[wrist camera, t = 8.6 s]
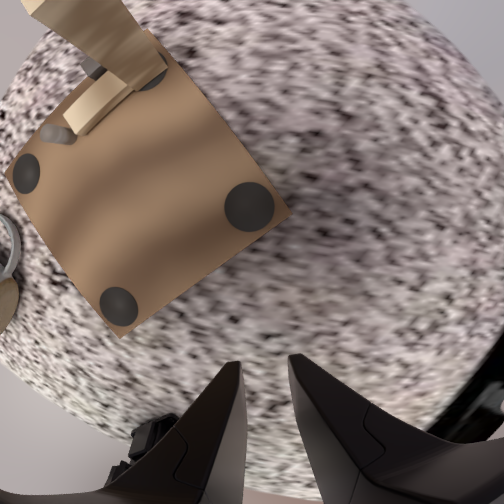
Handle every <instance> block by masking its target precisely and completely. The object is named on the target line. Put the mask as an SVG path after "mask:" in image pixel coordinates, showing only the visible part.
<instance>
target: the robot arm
mask: <svg viewBox="0 0 504 504" xmlns="http://www.w3.org/2000/svg"><path fill="white" fill-rule="evenodd" d="M288 374H289V383H290V389H291V395H292V400H293V406H294V412H295V417H296V422H297V425H298V429H299V432H300V435H301V438H302V441H303V444H304V447H305V450H306V453H307V456H308V458H309V461H310V464H311V467H312V470H313V473H314V476H315V479H316V482H317V485H318V488H319V491H320V494H321V497H322V500H323V502H324V504H504V437H503V438H499V439H494V440H489V441H483V442H478V443H471V444H456V443H451V442H448V441H445V440H443V439H440V438H438V437H436V436H433V435H431V434H429V433H427V432H425V431H422V430H420V429H418V428H416V427H414V426H412V425H409V424H407V423H405V422H404V421H402V420H400V419H398V418H396V417H394V416H392V415H391V414H389V413H387V412H386V411H384V410H382V409H381V408H379V407H378V406H376V405H375V404H373V403H371V402H370V401H369V400H367V399H366V398H364V397H363V396H361V395H360V394H358V393H357V392H355V391H354V390H352V389H351V388H349V387H348V386H347V385H345V384H344V383H342V382H341V381H339V380H338V379H336V378H335V377H334V376H332V375H331V374H329V373H328V372H327V371H325V370H324V369H322V368H321V367H320V366H318V365H317V364H315V363H314V362H313V361H311V360H310V359H308V358H307V357H306V356H304V355H303V354H301V353H299V354H293V355H289V356H288ZM247 431H248V425H247V411H246V397H245V385H244V378H243V372H242V366H241V362H240V361H232V362H227V363H226V364H225V365H224V366H223V367H222V369H221V370H220V371H219V372H218V374H217V375H216V376H215V377H214V378H213V380H212V381H211V382H210V383H209V384H208V386H207V387H206V388H205V389H204V391H203V392H202V393H201V394H200V395H199V397H198V398H197V399H196V400H195V401H194V402H193V404H192V405H191V406H190V407H189V408H188V410H187V411H186V412H185V413H184V414H183V415H182V417H181V418H180V419H179V418H178V417H177V416H175V415H174V414H168V415H166V416H164V417H162V418H160V419H157V420H155V421H151V422H149V423H147V424H144V425H142V426H140V427H138V428H137V429H135V430H133V431H132V432H131V436H132V437H133V441H132V444H131V447H130V450H129V453H128V457H129V458H130V459H131V461H130V464H128V463H127V462H125V461H121V462H120V465H118V466H112V469H111V471H110V474H109V477H108V479H107V481H106V483H105V485H104V487H103V488H101V489H99V490H96V491H92V492H85V493H74V494H59V495H20V494H13V493H9V492H6V491H3V490H1V489H0V504H242V500H243V487H244V474H245V461H246V447H247Z"/></svg>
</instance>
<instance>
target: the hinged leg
mask: <svg viewBox="0 0 504 504" xmlns="http://www.w3.org/2000/svg"><path fill="white" fill-rule="evenodd" d="M21 2H22V3H23V5H24V7H25V8H26V10H27V11H28V13H29V15H30V16H32V17H33V18H35V19H36V20H38V21H39V22H41V23H42V24H44V25H45V26H47V27H48V28H50V29H51V30H53V31H54V32H56V33H57V34H58V35H60V36H61V37H63V38H64V39H66V40H67V41H69V42H70V43H71V44H73V45H74V46H76V47H77V48H78V49H80V50H81V51H83V52H84V53H85V54H87V55H88V56H90V57H91V58H92V59H94V60H95V61H96V62H98V63H99V64H100V65H102V66H103V67H105V68H106V69H107V70H108V71H107V72H106V73H105V74H103V75H102V76H101V77H100V78H99V79H98V80H97V81H96V82H95V83H94V84H93V85H92V86H90V87H89V88H88V89H87V90H86V91H85V92H84V93H83V94H82V95H81V96H80V97H79V98H78V99H77V100H76V101H75V102H74V103H73V104H72V105H71V106H70V108H69V109H68V110H67V111H66V112H65V113H64V114H63V116H64V118H65V119H66V121H67V122H68V124H69V125H70V127H71V128H72V130H73V131H74V133H75V134H76V135H80V136H85V135H86V134H87V133H88V132H89V131H90V130H91V129H92V128H93V127H94V126H95V125H96V124H97V123H98V122H99V121H100V120H101V119H102V118H103V117H104V116H105V115H106V114H107V113H108V112H109V111H110V110H111V109H112V108H114V107H115V106H116V105H117V104H118V103H119V102H120V101H121V100H122V99H124V98H125V97H126V96H127V95H128V94H129V93H131V92H132V91H133V90H135V91H136V92H137V91H139V90H140V89H141V88H142V87H143V86H145V85H146V84H147V83H148V82H150V81H151V80H152V79H153V78H155V77H156V76H157V75H159V74H160V73H161V72H163V71H164V70H165V69H167V68H168V67H167V65H166V64H165V62H164V61H163V59H162V58H161V56H160V55H159V53H158V52H157V50H156V49H155V48H154V46H153V45H152V43H151V42H150V40H149V39H148V37H147V36H146V35H145V33H144V32H143V30H142V29H141V27H140V26H139V25H138V23H137V22H136V20H135V19H134V18H133V16H132V15H131V13H130V12H129V11H128V9H127V8H126V6H125V5H124V4H123V2H122V1H121V0H21Z"/></svg>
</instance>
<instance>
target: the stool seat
mask: <svg viewBox="0 0 504 504" xmlns="http://www.w3.org/2000/svg"><path fill="white" fill-rule="evenodd" d="M143 32H144V33H145V35H146V36H147V37H148V39H149V40H150V42H151V43H152V45H153V46H154V48H155V49H156V50H157V52H158V53H159V55H160V56H161V58H162V59H163V61H164V62H165V64H166V65H167V67H168V68H167V69H165V70H164V71H163V72H161V73H160V74H159V75H157V76H156V77H155V78H153V79H152V80H151V81H150V82H148V83H147V84H146V85H145V86H143V87H142V88H141V89H140V90H139V91H137V92H136V91H135V90H133V91H132V92H131V93H129V94H128V95H127V96H126V97H125V98H124V99H122V100H121V101H120V102H119V103H118V104H117V105H116V106H115V107H114V108H112V109H111V110H110V111H109V112H108V113H107V114H106V115H105V116H104V117H103V118H102V119H101V120H100V121H99V122H98V123H97V124H96V125H95V126H94V127H93V128H92V129H91V130H90V131H89V132H88V133H87V134H86V135H85V136H80V135H76V134H75V133H74V131H73V130H72V128H71V127H70V125H69V124H68V122H67V121H66V119H65V118H64V116H63V114H64V113H65V112H66V111H67V110H68V109H69V108H70V106H71V105H72V104H73V103H74V102H75V101H76V100H77V99H78V98H79V97H80V96H81V95H82V94H83V93H84V92H85V91H86V90H87V89H88V88H89V87H90V86H92V85H93V84H94V83H95V82H96V81H97V80H98V79H99V78H100V77H101V76H102V75H103V74H105V73H106V72H107V71H108V70H107V69H106V68H105V67H103V66H102V65H100V64H99V63H98V62H96V61H95V60H94V59H92V58H91V57H90V56H89V57H87V58H86V59H85V60H84V61H83V62H82V63H81V64H80V65H81V67H82V68H83V70H84V71H85V73H86V74H87V76H88V77H87V78H86V79H85V80H83V81H82V82H81V83H80V84H79V85H78V86H77V87H76V88H75V89H74V90H73V91H72V92H71V93H70V94H69V95H68V96H67V97H66V98H65V99H64V100H63V101H62V102H61V103H60V104H59V106H58V107H57V108H56V109H55V110H54V111H53V112H52V113H51V114H50V115H49V116H48V118H47V119H46V120H45V121H44V122H43V123H42V125H41V126H40V127H39V128H38V129H37V130H36V132H35V133H34V134H33V135H32V137H31V138H30V139H29V140H28V142H27V143H26V144H25V145H24V147H23V148H22V149H21V151H20V152H19V153H18V155H17V156H16V157H15V159H14V160H13V161H12V163H11V164H10V166H9V167H8V169H7V170H6V171H5V175H6V177H7V179H8V181H9V183H10V185H11V187H12V189H13V191H14V192H15V194H16V196H17V198H18V200H19V202H20V203H21V205H22V207H23V208H24V210H25V212H26V214H27V215H28V217H29V219H30V220H31V222H32V224H33V225H34V227H35V228H36V230H37V232H38V233H39V235H40V236H41V238H42V239H43V241H44V242H45V244H46V245H47V247H48V248H49V250H50V251H51V253H52V254H53V256H54V257H55V259H56V260H57V262H58V263H59V264H60V266H61V267H62V269H63V270H64V271H65V273H66V274H67V275H68V277H69V278H70V279H71V281H72V282H73V283H74V285H75V286H76V287H77V289H78V290H79V291H80V293H81V294H82V295H83V296H84V298H85V299H86V300H87V301H88V303H89V304H90V305H91V306H92V308H93V309H94V310H95V311H96V312H97V314H98V315H99V316H100V317H101V318H102V319H103V321H104V322H105V323H106V324H107V325H108V326H109V328H110V329H111V330H112V331H113V332H114V333H115V334H116V335H117V337H118V338H119V339H120V338H122V337H123V336H124V335H126V334H127V333H129V332H130V331H131V330H133V329H134V328H135V327H137V326H138V325H140V324H141V323H142V322H144V321H145V320H146V319H148V318H149V317H150V316H152V315H153V314H155V313H156V312H157V311H159V310H160V309H161V308H163V307H164V306H166V305H167V304H168V303H170V302H171V301H172V300H174V299H175V298H177V297H178V296H179V295H181V294H182V293H183V292H185V291H186V290H188V289H189V288H190V287H192V286H193V285H195V284H196V283H197V282H199V281H200V280H201V279H203V278H204V277H206V276H207V275H208V274H210V273H211V272H213V271H214V270H215V269H217V268H218V267H219V266H221V265H222V264H224V263H225V262H226V261H228V260H229V259H231V258H232V257H233V256H235V255H236V254H237V253H239V252H240V251H242V250H243V249H244V248H246V247H247V246H249V245H250V244H251V243H253V242H254V241H256V240H257V239H258V238H260V237H261V236H263V235H264V234H265V233H267V232H268V231H270V230H271V229H272V228H274V227H275V226H277V225H278V224H279V223H281V222H282V221H284V220H285V219H286V218H288V217H289V216H291V215H292V212H291V211H290V209H289V208H288V207H287V205H286V204H285V202H284V201H283V199H282V198H281V197H280V195H279V194H278V192H277V191H276V190H275V188H274V187H273V185H272V184H271V183H270V181H269V180H268V178H267V177H266V176H265V174H264V173H263V172H262V170H261V169H260V168H259V166H258V165H257V163H256V162H255V161H254V159H253V158H252V157H251V155H250V154H249V153H248V151H247V150H246V149H245V147H244V146H243V145H242V143H241V142H240V141H239V139H238V138H237V137H236V135H235V134H234V133H233V132H232V130H231V129H230V128H229V126H228V125H227V124H226V122H225V121H224V120H223V119H222V117H221V116H220V115H219V114H218V112H217V111H216V110H215V108H214V107H213V106H212V105H211V103H210V102H209V101H208V100H207V98H206V97H205V96H204V95H203V93H202V92H201V91H200V90H199V88H198V87H197V86H196V85H195V84H194V82H193V81H192V80H191V79H190V78H189V76H188V75H187V74H186V73H185V71H184V70H183V69H182V68H181V67H180V66H179V64H178V63H177V62H176V61H175V60H174V58H173V57H172V56H171V55H170V54H169V53H168V51H167V50H166V49H165V48H164V47H163V46H162V44H161V43H160V42H159V41H158V40H157V39H156V38H155V36H154V35H153V34H152V33H151V32H150V31H149V30H148V29H146V30H144V31H143Z"/></svg>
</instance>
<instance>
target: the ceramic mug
mask: <svg viewBox="0 0 504 504" xmlns="http://www.w3.org/2000/svg"><path fill="white" fill-rule="evenodd" d="M0 221H1V222H2V223H3V224H4V225H5V226H6V228H7V230H8V233H9V236H10V237H11V242H12V248H11V255H10V257H9V260H8V264H7V265H6V267H4V266H3V265H2V264H1V263H0V335H1V334H2V333H3V331H4V330H5V329H6V327H7V326H8V324H9V322H10V321H11V319H12V317H13V315H14V312H15V310H16V307H17V304H18V298H19V290H18V285H17V283H16V281H15V280H14V279H13V277H12V273H13V271H14V269H15V268H16V266H17V263H18V259H19V255H20V250H21V241H20V236H19V233H18V230H17V228H16V226H15V225H14V223H13V222H12V221H11V220H10V219H9V218H7V217H6V216H4V215H2V214H0Z"/></svg>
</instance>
